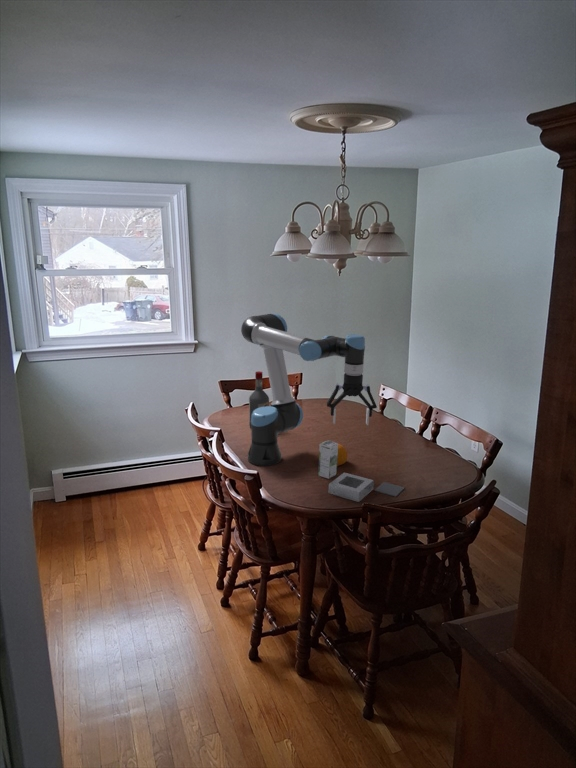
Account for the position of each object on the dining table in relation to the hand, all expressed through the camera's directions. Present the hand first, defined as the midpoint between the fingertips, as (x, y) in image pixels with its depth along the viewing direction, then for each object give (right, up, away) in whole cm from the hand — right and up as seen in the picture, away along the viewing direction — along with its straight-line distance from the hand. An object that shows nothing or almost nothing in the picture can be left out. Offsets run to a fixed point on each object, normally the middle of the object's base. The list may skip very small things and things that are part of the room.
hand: (350, 423), depth 217 cm
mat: (+15, -26, -8) cm, 31 cm away
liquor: (-41, -7, +64) cm, 76 cm away
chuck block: (-1, -26, -9) cm, 28 cm away
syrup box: (-9, -22, +5) cm, 25 cm away
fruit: (-5, -19, +18) cm, 27 cm away
